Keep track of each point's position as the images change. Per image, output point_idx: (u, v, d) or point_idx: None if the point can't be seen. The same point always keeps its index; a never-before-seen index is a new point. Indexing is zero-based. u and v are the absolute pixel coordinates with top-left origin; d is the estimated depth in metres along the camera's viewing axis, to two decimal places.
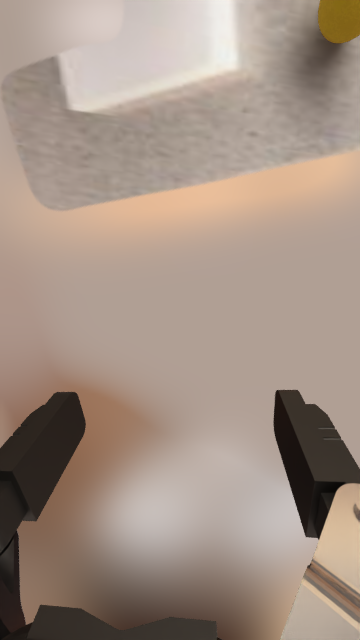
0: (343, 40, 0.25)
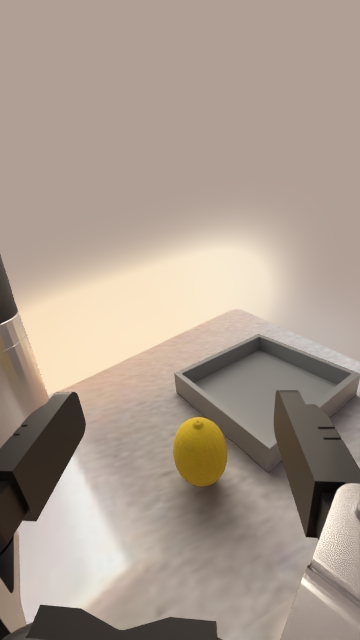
0: (215, 477, 0.25)
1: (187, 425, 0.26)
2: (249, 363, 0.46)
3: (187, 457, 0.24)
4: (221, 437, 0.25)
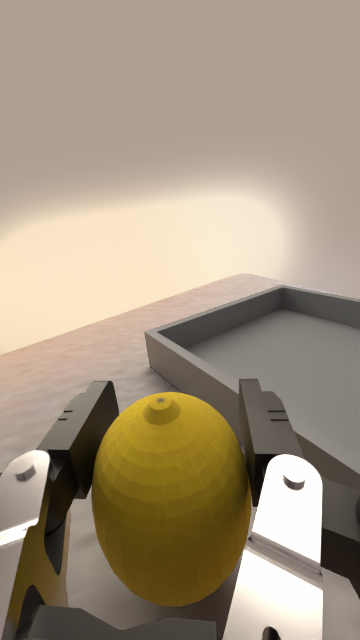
0: (218, 583, 0.07)
1: (129, 413, 0.08)
2: (270, 324, 0.29)
3: (116, 522, 0.07)
4: (235, 450, 0.08)
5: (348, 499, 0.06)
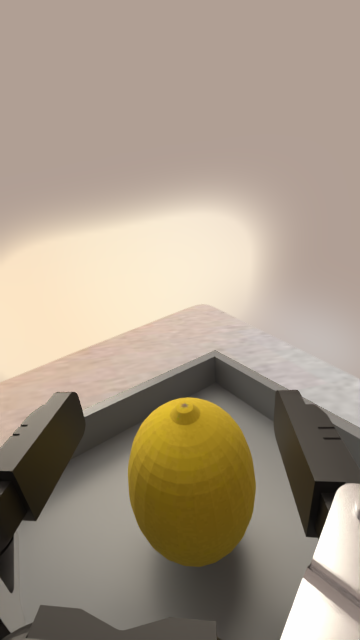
0: (231, 546, 0.10)
1: (158, 416, 0.10)
2: None
3: (155, 500, 0.09)
4: (243, 443, 0.10)
5: None
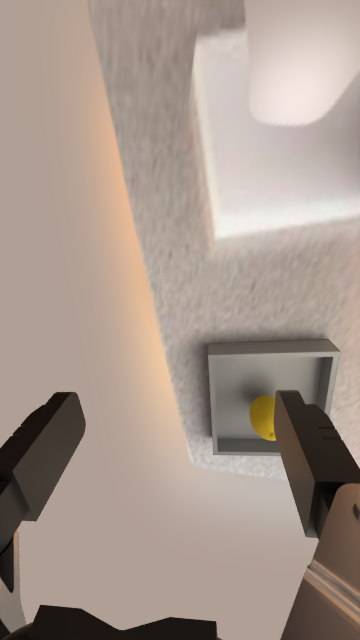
0: (249, 412, 0.40)
1: None
2: None
3: (263, 413, 0.37)
4: (260, 436, 0.38)
5: None
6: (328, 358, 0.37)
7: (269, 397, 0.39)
